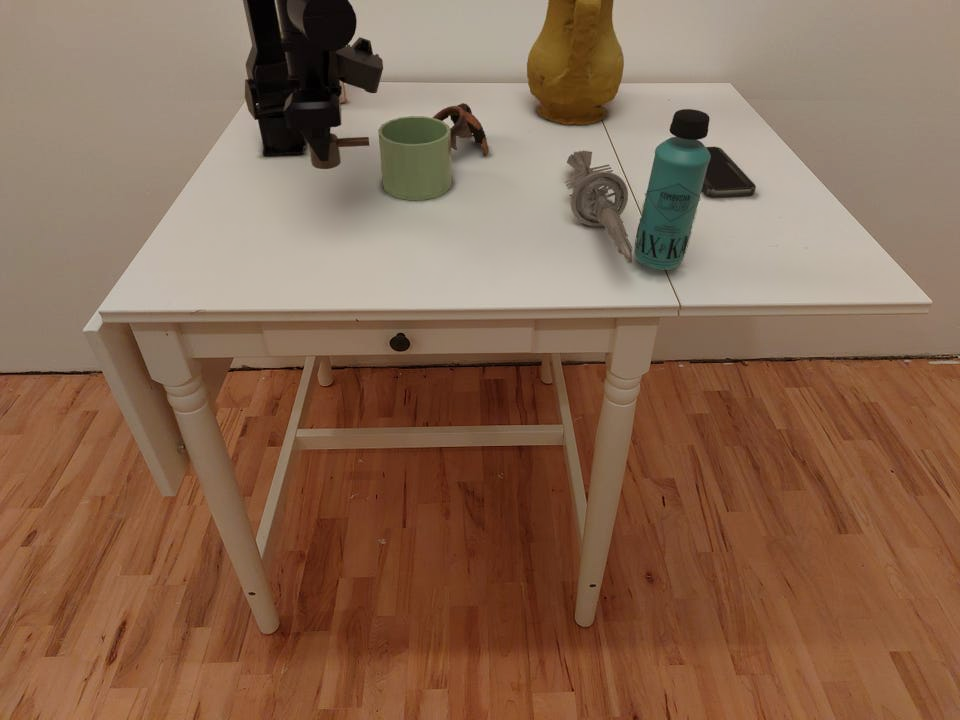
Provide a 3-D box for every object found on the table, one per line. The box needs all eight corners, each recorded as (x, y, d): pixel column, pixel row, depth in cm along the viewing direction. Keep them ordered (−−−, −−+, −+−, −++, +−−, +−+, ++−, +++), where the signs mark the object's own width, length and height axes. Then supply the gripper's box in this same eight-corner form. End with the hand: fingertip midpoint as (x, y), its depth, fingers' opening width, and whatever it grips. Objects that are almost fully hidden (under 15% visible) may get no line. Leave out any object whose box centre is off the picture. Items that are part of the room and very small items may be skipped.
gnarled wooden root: (491, 167, 108) (467, 128, 102) (441, 185, 112) (415, 148, 106) (495, 120, 115) (473, 81, 109) (448, 139, 119) (424, 102, 113)
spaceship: (589, 242, 75) (657, 216, 74) (544, 143, 104) (593, 123, 102) (607, 298, 80) (672, 274, 79) (560, 188, 108) (607, 170, 107)
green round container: (384, 202, 98) (379, 147, 92) (381, 170, 106) (377, 117, 100) (454, 198, 99) (454, 143, 93) (447, 167, 107) (446, 114, 101)
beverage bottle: (625, 253, 88) (653, 102, 75) (673, 251, 89) (710, 101, 76) (638, 281, 84) (670, 125, 70) (689, 279, 84) (731, 124, 71)
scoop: (311, 170, 87) (307, 145, 85) (312, 157, 90) (308, 133, 88) (371, 166, 88) (368, 142, 86) (370, 154, 91) (368, 130, 89)
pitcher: (633, 104, 127) (651, -46, 109) (590, 144, 115) (603, -17, 98) (553, 89, 134) (558, -55, 117) (506, 124, 123) (503, -29, 105)
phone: (709, 191, 99) (674, 148, 110) (707, 198, 100) (673, 154, 111) (759, 188, 100) (720, 146, 111) (757, 195, 101) (718, 152, 112)
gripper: (378, 49, 72) (389, 183, 82) (373, 3, 85) (383, 123, 96) (272, 52, 70) (297, 188, 81) (284, 6, 84) (304, 127, 94)
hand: (325, 154), depth 88 cm, fingers closed on scoop, 4 cm apart
